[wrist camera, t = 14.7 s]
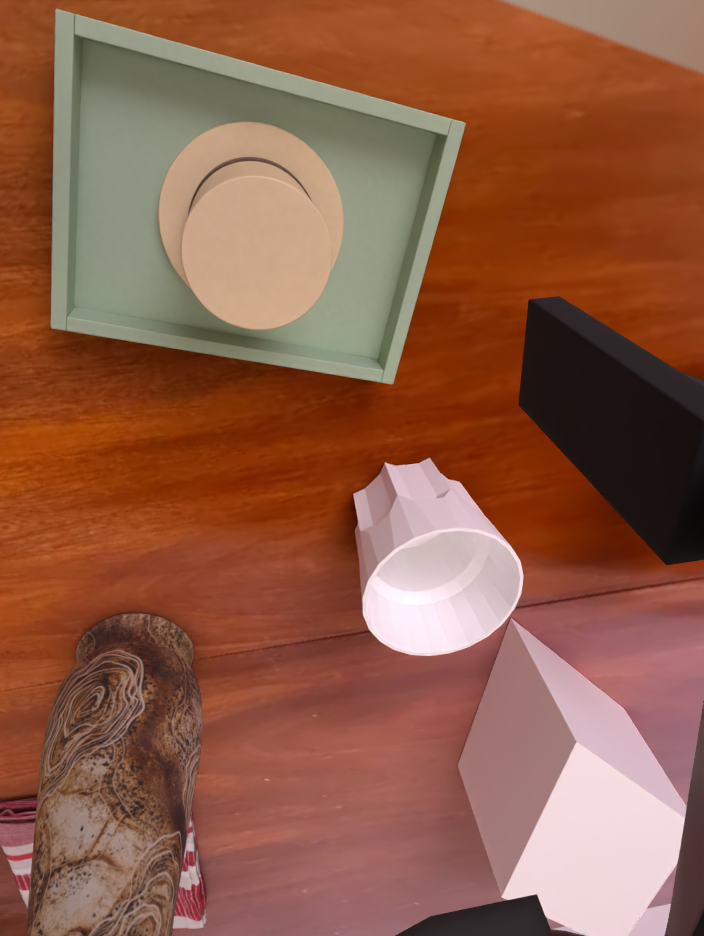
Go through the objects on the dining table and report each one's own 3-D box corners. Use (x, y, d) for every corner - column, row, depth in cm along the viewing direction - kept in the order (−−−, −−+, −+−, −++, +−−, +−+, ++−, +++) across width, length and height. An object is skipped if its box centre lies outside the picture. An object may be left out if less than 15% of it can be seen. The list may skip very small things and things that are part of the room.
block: (607, 583, 55) (697, 700, 44) (635, 801, 73) (703, 921, 63) (414, 651, 55) (457, 782, 45) (489, 851, 74) (532, 978, 63)
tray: (61, 314, 37) (50, 328, 35) (67, 14, 30) (54, 8, 28) (384, 369, 42) (393, 384, 40) (451, 121, 35) (466, 122, 33)
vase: (91, 590, 47) (-79, 1186, 21) (230, 623, 51) (227, 1166, 25) (53, 686, 51) (-127, 1284, 25) (184, 711, 55) (142, 1255, 29)
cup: (342, 567, 50) (364, 665, 41) (336, 454, 44) (360, 539, 36) (467, 551, 51) (514, 643, 42) (476, 439, 46) (531, 518, 37)
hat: (121, 231, 35) (91, 268, 27) (237, 74, 32) (239, 68, 25) (265, 346, 39) (272, 404, 32) (378, 216, 36) (414, 247, 29)
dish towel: (187, 774, 59) (186, 801, 56) (210, 908, 70) (209, 935, 68) (-11, 798, 56) (-21, 828, 54) (47, 933, 68) (40, 963, 66)
